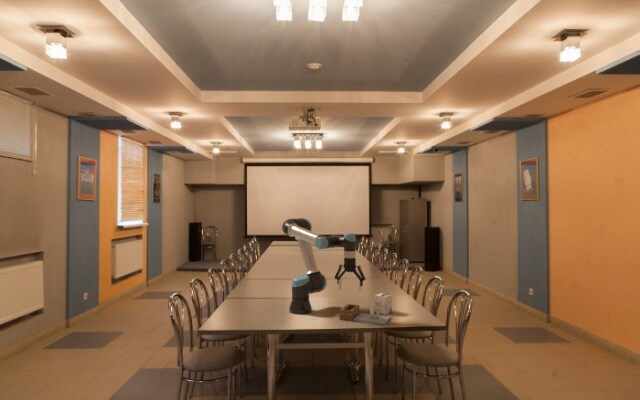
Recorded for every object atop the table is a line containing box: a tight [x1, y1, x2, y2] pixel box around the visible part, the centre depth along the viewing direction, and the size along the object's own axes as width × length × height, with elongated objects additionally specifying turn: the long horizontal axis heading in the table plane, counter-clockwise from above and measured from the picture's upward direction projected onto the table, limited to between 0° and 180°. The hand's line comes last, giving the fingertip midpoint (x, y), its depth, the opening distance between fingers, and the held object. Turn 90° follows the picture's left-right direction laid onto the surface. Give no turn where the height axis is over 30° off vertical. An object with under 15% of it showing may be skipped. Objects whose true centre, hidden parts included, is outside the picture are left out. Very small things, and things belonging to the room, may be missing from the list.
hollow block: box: [338, 303, 360, 322], centre depth 272 cm, size 16×8×6 cm, turn 157°
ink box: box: [374, 291, 393, 316], centre depth 284 cm, size 9×8×13 cm
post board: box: [353, 307, 391, 325], centre depth 266 cm, size 20×14×7 cm
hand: (349, 290), depth 272 cm, fingers open, 13 cm apart
